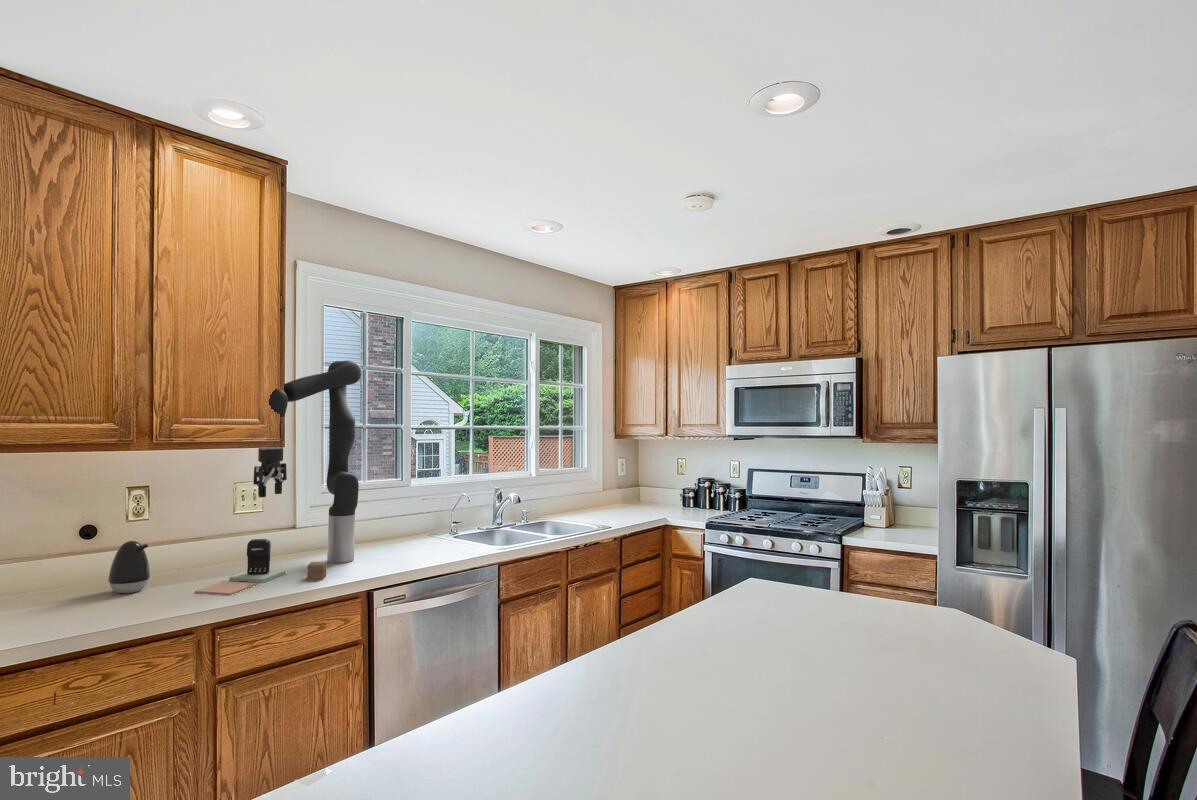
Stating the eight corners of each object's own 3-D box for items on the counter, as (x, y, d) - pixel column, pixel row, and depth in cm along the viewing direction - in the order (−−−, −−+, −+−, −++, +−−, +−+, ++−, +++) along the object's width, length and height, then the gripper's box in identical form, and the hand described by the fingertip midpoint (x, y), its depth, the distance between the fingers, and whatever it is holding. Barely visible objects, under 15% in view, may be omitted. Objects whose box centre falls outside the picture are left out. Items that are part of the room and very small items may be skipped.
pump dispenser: (132, 596, 188) (134, 544, 188) (98, 595, 189) (101, 543, 189) (158, 587, 198) (160, 538, 199) (126, 586, 199) (128, 537, 199)
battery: (244, 575, 210) (245, 540, 211) (247, 573, 214) (249, 538, 214) (267, 574, 212) (269, 540, 212) (270, 572, 216) (271, 538, 216)
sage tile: (253, 572, 220) (253, 568, 220) (285, 574, 218) (286, 570, 218) (229, 580, 208) (229, 577, 208) (263, 582, 206) (263, 579, 206)
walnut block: (310, 576, 216) (310, 561, 216) (326, 576, 217) (326, 561, 217) (307, 580, 211) (307, 565, 211) (323, 580, 212) (323, 564, 212)
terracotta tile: (223, 585, 205) (223, 581, 205) (257, 587, 203) (257, 583, 203) (194, 595, 193) (194, 590, 193) (230, 597, 191) (230, 593, 191)
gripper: (273, 446, 224) (273, 492, 223) (246, 448, 209) (245, 498, 209) (293, 446, 223) (293, 493, 222) (267, 448, 208) (267, 498, 208)
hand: (270, 495), depth 216 cm, fingers open, 8 cm apart
